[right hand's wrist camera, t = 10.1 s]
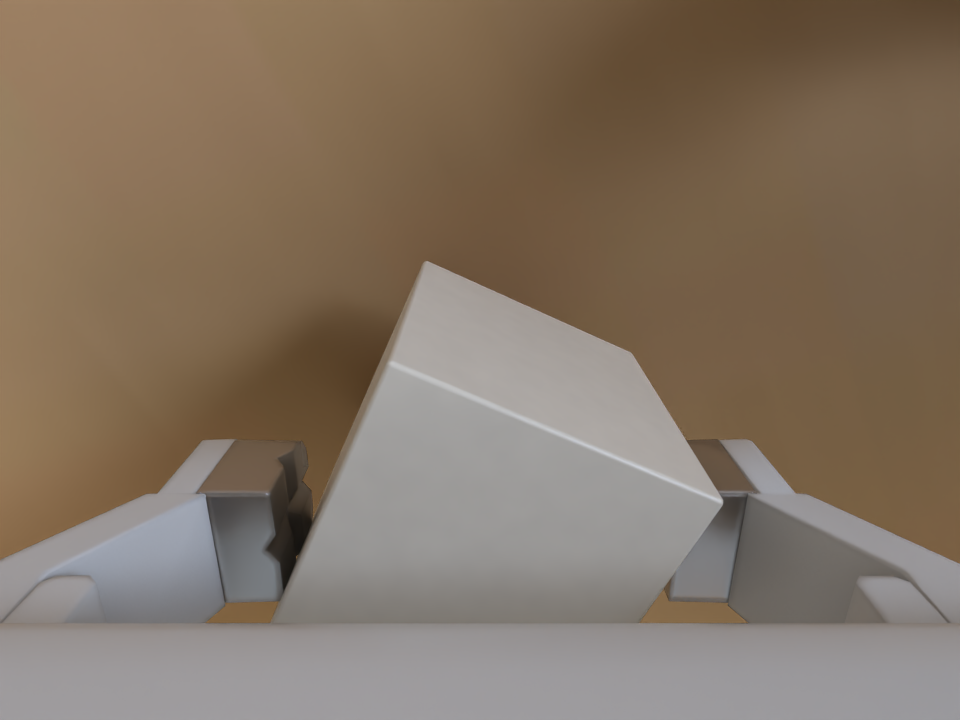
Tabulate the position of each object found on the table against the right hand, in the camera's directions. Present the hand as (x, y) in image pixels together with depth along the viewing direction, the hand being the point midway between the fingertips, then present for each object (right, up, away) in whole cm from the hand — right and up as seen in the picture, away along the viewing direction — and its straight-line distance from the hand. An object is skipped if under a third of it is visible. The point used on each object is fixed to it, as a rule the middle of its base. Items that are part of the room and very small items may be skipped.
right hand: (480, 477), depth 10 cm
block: (0, +1, +2) cm, 2 cm away
